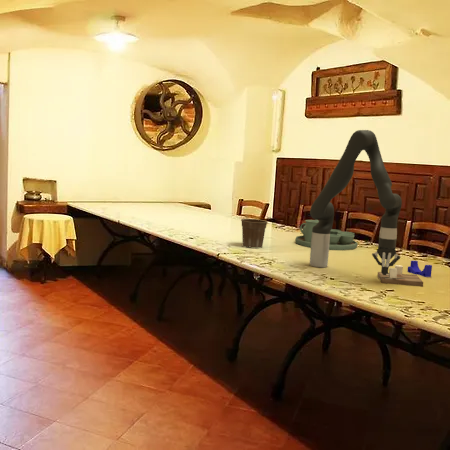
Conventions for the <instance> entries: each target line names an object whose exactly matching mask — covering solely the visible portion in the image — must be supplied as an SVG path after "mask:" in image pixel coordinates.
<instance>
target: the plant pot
mask: <svg viewBox="0 0 450 450" xmlns="http://www.w3.org/2000/svg"><path fill="white" fill-rule="evenodd" d="M240 221H241V227H242V229H241V231H242V246H243V247H244V246H246V247H245V248H248V247H249V248H251V247H261V248H263V244H264V239H265V238H264V237H265V233H266V228H267V224H268V221H267V220H263V219H257V218H241V219H240Z"/></svg>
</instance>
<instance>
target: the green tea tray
mask: <svg viewBox="0 0 450 450" xmlns="http://www.w3.org/2000/svg"><path fill="white" fill-rule="evenodd" d="M318 222H319V220H317V219H305V222H302V223H301V225H300V227H299V228H300V229H299V230H300V232H301V234H302V235H297V236H296V237H295V238H294V239H295V244H297V245H300V246H302V247H306V248H311V239H312V228H313V226H315V225H316V224H318ZM354 238H355V232H351V231H350V232H349V231H342V230H341V229H333V228H332V229H331V231H330V243H329V251H349V250H355V249H356V248H357V247H358V245H359V243H358V242H357V241H355V240H354Z"/></svg>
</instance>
